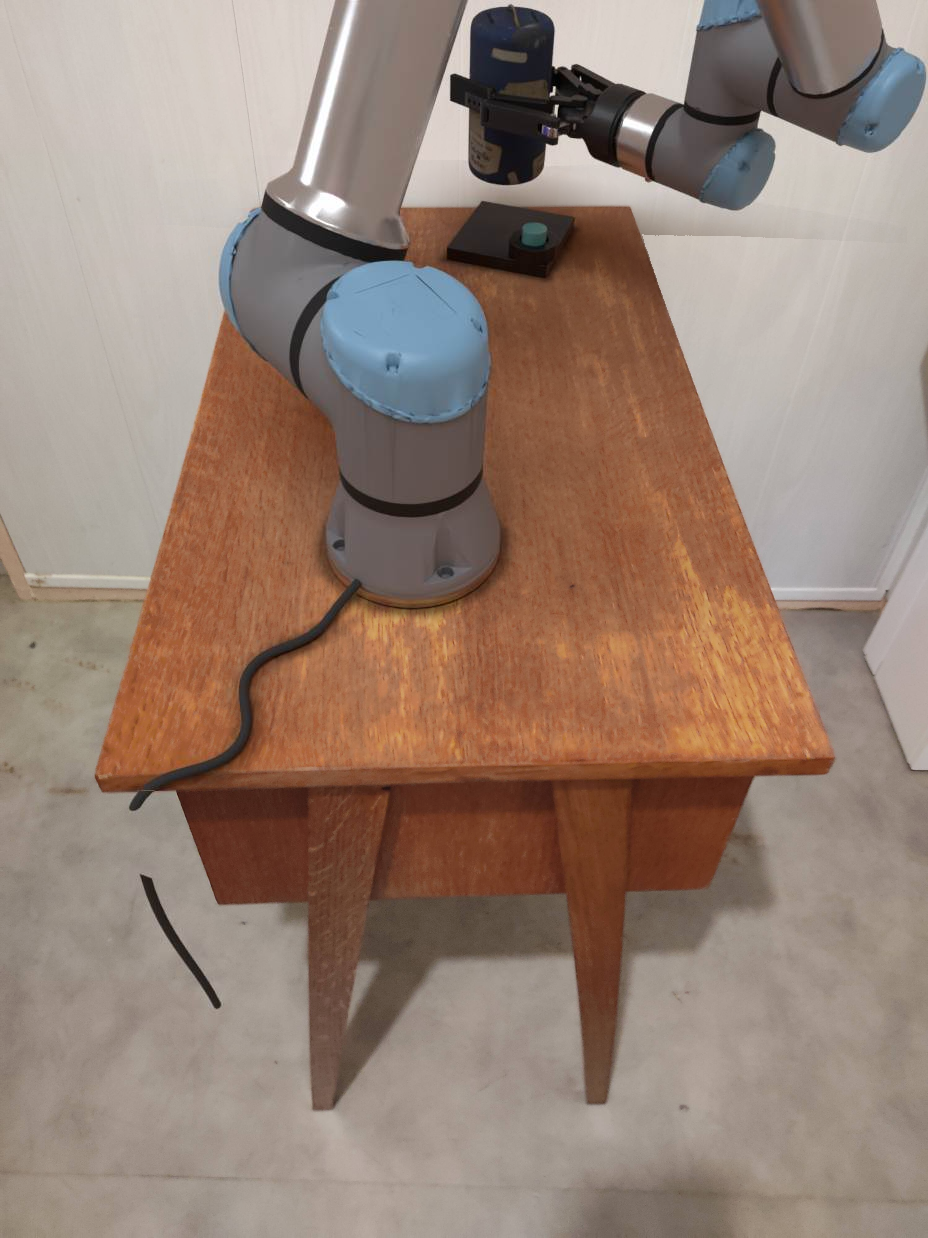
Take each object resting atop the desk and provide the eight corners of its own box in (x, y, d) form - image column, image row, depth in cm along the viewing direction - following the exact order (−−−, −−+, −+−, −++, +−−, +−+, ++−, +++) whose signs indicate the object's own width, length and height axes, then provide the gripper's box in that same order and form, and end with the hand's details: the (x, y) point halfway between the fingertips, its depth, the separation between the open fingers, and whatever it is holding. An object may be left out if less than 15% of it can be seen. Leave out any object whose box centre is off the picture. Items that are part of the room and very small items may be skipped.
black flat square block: (548, 281, 108) (550, 254, 105) (445, 261, 110) (445, 234, 108) (576, 229, 117) (580, 203, 114) (481, 212, 119) (482, 186, 117)
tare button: (542, 249, 107) (543, 235, 105) (518, 245, 107) (519, 230, 106) (548, 238, 108) (550, 224, 107) (525, 234, 109) (526, 220, 108)
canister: (545, 161, 112) (559, -6, 99) (542, 193, 106) (556, 20, 93) (470, 156, 113) (474, -11, 99) (463, 189, 107) (466, 16, 93)
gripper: (564, 198, 92) (415, 135, 101) (685, 139, 102) (540, 87, 112) (572, 121, 86) (414, 62, 96) (700, 67, 96) (545, 18, 106)
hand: (482, 75), depth 104 cm, fingers closed on canister, 9 cm apart
